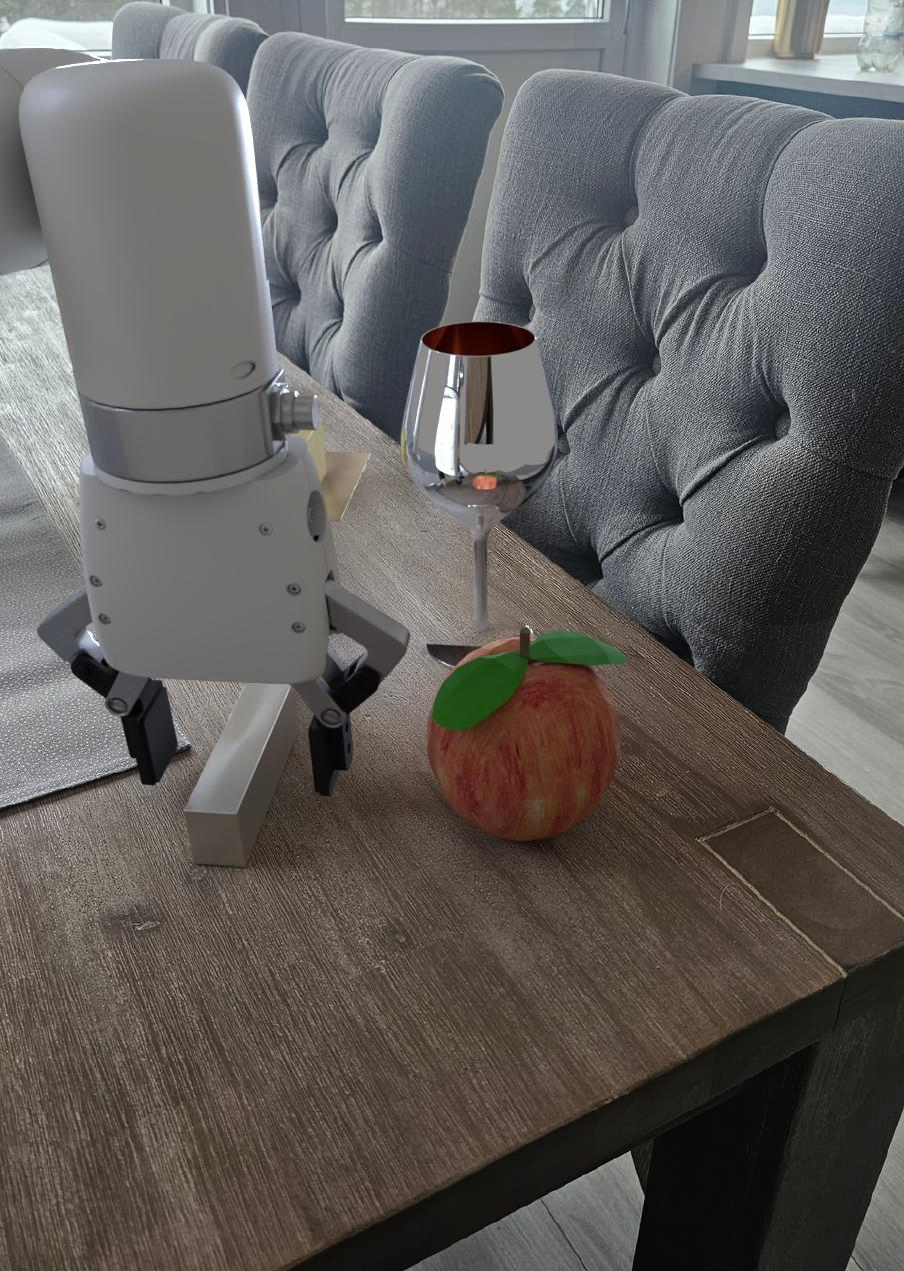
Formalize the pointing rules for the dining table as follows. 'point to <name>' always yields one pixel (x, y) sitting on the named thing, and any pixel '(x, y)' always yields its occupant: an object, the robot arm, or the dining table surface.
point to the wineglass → (478, 436)
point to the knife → (242, 775)
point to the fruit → (526, 734)
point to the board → (341, 480)
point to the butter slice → (315, 447)
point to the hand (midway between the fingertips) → (244, 770)
